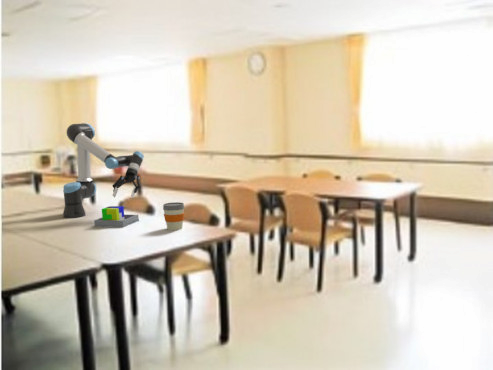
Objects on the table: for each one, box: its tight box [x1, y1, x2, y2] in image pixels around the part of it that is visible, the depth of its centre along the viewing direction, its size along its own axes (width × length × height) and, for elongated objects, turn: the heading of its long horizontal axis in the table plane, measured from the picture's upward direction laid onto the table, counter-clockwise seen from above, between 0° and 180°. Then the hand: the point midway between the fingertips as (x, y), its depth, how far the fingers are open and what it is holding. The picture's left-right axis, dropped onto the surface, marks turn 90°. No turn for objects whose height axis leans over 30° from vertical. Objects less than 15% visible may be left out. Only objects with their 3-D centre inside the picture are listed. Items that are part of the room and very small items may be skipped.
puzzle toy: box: [101, 205, 125, 220], centre depth 338 cm, size 10×10×10 cm
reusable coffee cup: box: [162, 201, 185, 231], centre depth 318 cm, size 13×13×15 cm
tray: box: [93, 214, 140, 228], centre depth 341 cm, size 20×20×4 cm
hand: (122, 196), depth 349 cm, fingers open, 13 cm apart
